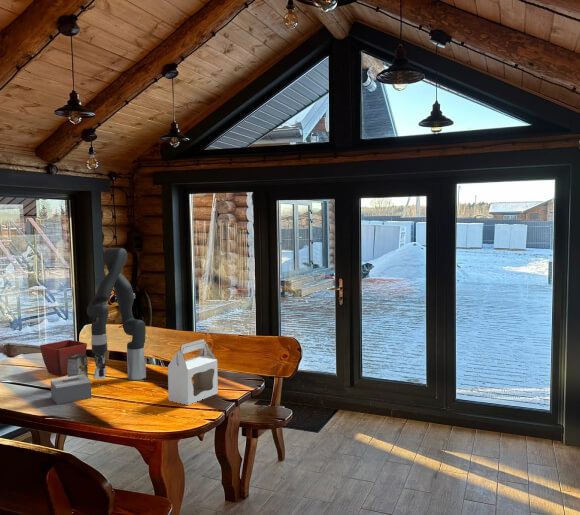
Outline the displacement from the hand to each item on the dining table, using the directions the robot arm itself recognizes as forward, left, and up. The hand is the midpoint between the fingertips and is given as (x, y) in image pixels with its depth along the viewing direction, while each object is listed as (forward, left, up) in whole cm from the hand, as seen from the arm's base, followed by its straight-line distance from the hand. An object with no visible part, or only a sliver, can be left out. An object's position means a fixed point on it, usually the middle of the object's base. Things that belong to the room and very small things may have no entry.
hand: (100, 375), depth 273 cm
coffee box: (+6, -20, -9) cm, 23 cm away
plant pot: (+6, -51, -9) cm, 52 cm away
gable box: (-36, +34, -9) cm, 50 cm away
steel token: (+1, 0, -1) cm, 2 cm away
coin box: (+14, -1, -9) cm, 17 cm away
